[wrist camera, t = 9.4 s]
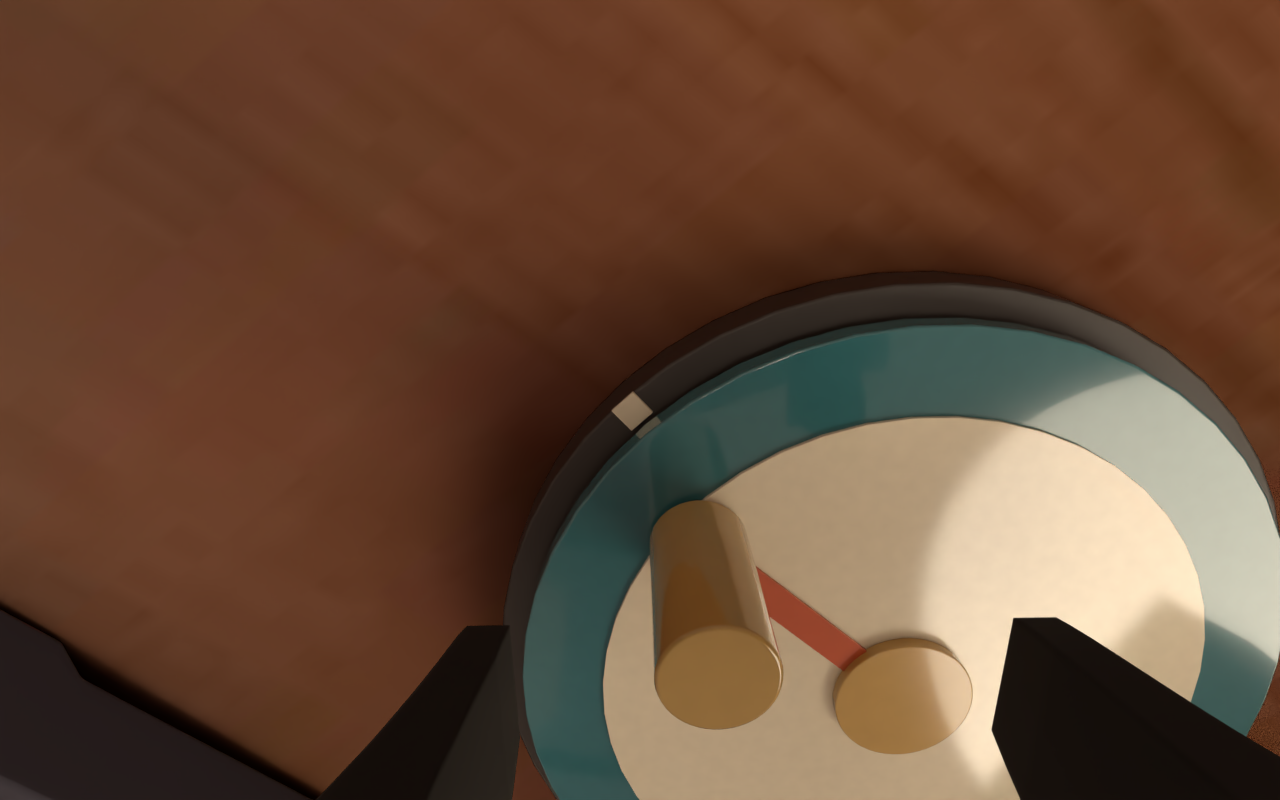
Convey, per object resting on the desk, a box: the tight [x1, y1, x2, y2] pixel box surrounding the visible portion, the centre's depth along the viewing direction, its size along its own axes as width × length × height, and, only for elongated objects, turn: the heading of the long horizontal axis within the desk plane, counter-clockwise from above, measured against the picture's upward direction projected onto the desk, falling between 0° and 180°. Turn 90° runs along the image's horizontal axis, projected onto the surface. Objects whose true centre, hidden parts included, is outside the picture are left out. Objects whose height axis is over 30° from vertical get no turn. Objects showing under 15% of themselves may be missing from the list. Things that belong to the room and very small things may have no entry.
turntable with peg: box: [522, 318, 1280, 800], centre depth 15 cm, size 17×17×5 cm
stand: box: [503, 271, 1279, 800], centre depth 18 cm, size 18×18×1 cm
